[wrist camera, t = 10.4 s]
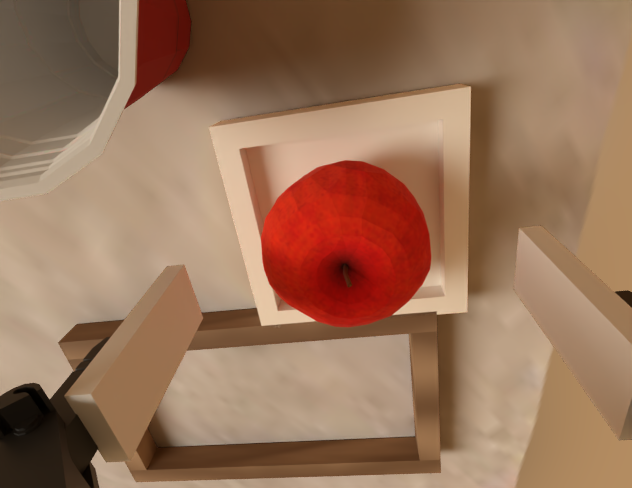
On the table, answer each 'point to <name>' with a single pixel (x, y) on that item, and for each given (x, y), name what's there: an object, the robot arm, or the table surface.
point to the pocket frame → (292, 456)
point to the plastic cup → (76, 80)
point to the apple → (346, 244)
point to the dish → (368, 146)
